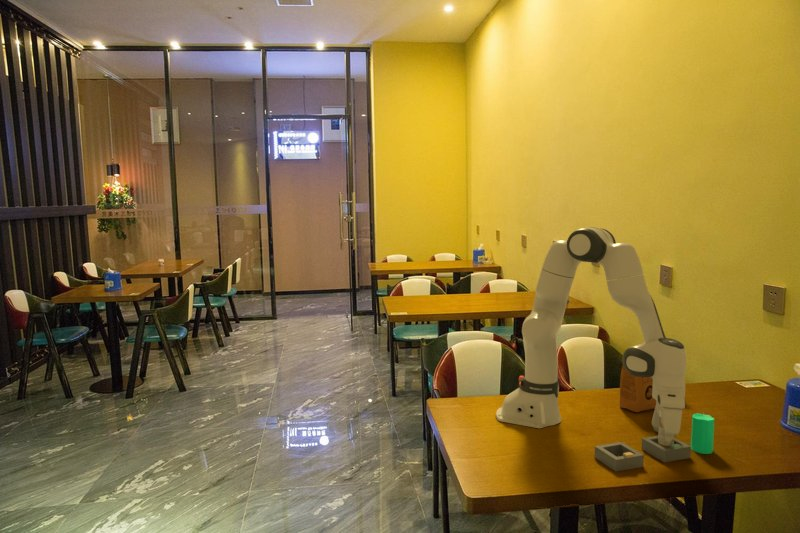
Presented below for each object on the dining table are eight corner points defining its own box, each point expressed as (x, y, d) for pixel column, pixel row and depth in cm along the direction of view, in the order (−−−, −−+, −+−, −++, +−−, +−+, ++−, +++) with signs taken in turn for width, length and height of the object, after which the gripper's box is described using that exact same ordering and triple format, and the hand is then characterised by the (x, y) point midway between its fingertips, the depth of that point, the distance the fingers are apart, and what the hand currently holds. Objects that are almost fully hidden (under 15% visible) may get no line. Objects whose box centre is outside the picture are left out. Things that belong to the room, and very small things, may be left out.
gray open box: (615, 471, 160) (616, 457, 160) (594, 457, 169) (595, 443, 169) (643, 466, 163) (643, 452, 163) (621, 452, 172) (621, 439, 172)
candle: (712, 455, 170) (714, 417, 169) (689, 451, 173) (691, 413, 172) (713, 448, 175) (715, 410, 174) (691, 443, 178) (693, 407, 177)
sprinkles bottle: (665, 449, 175) (667, 407, 173) (677, 455, 170) (679, 412, 169) (653, 451, 173) (655, 409, 172) (665, 457, 169) (667, 414, 167)
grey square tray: (664, 462, 166) (665, 448, 165) (641, 449, 175) (642, 435, 174) (690, 457, 169) (691, 443, 168) (666, 444, 178) (667, 431, 177)
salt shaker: (672, 435, 185) (674, 396, 184) (653, 433, 186) (655, 395, 185) (667, 428, 191) (669, 390, 189) (649, 426, 192) (651, 389, 190)
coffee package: (661, 410, 207) (664, 351, 204) (636, 415, 202) (638, 355, 199) (639, 401, 216) (642, 345, 213) (615, 406, 211) (617, 349, 208)
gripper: (652, 381, 180) (650, 423, 182) (661, 403, 161) (659, 449, 163) (674, 383, 179) (672, 425, 180) (686, 405, 159) (683, 452, 161)
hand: (666, 437), depth 171 cm, fingers closed on sprinkles bottle, 4 cm apart
